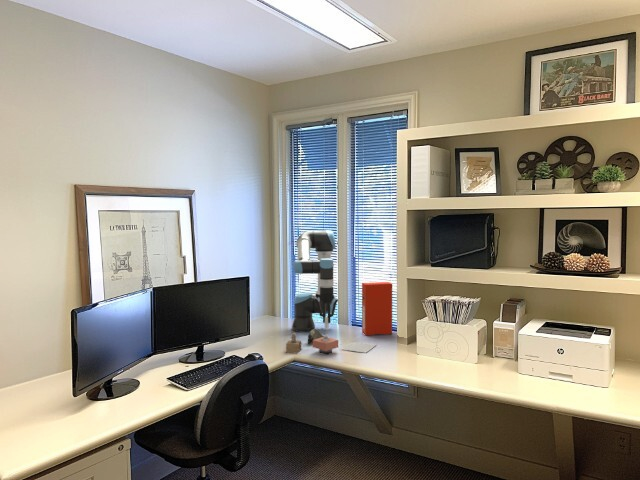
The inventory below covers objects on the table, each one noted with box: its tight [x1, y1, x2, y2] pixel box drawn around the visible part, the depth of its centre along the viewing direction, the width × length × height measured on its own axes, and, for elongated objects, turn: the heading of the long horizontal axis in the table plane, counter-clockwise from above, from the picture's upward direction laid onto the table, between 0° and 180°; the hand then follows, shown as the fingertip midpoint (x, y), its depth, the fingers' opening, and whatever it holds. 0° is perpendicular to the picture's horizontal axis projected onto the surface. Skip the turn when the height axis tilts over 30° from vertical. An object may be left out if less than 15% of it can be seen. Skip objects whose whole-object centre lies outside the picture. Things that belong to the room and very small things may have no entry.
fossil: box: [307, 328, 324, 345], centre depth 281 cm, size 11×9×10 cm
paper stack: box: [342, 341, 377, 354], centre depth 266 cm, size 23×25×1 cm
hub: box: [318, 333, 333, 355], centre depth 263 cm, size 7×7×10 cm
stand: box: [285, 332, 302, 354], centre depth 266 cm, size 7×7×10 cm
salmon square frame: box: [312, 337, 339, 351], centre depth 263 cm, size 10×10×4 cm
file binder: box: [361, 281, 393, 336], centre depth 301 cm, size 8×17×32 cm, turn 101°
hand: (326, 328), depth 266 cm, fingers closed
